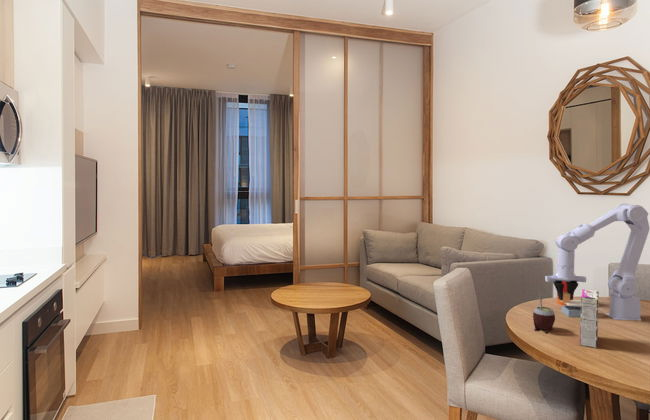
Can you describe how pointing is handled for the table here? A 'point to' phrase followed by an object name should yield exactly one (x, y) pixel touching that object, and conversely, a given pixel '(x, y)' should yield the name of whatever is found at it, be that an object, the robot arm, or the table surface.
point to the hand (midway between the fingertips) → (564, 299)
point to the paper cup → (564, 291)
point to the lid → (570, 302)
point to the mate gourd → (543, 317)
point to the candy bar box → (589, 318)
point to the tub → (571, 311)
